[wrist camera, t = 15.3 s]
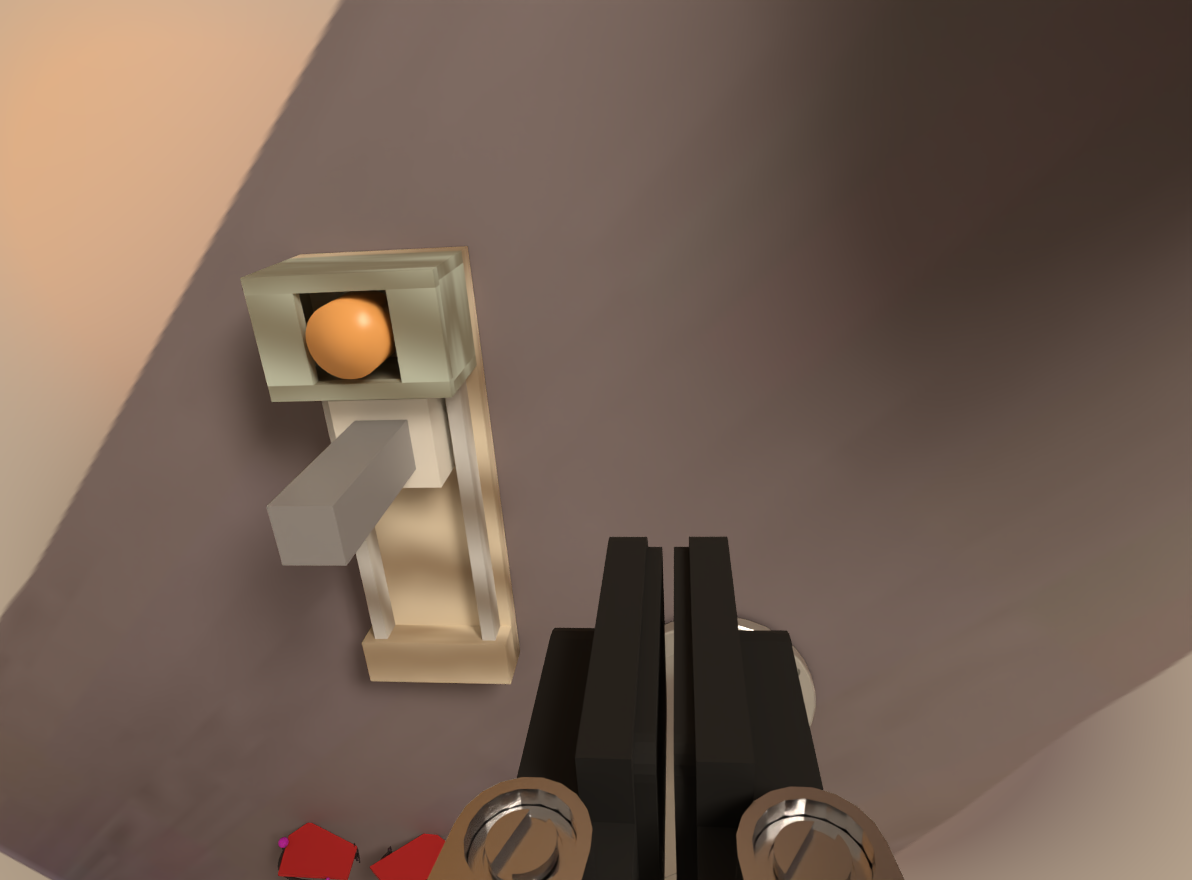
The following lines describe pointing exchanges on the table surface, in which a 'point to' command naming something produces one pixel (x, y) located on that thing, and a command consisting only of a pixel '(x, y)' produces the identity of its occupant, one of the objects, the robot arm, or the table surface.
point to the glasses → (352, 856)
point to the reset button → (351, 334)
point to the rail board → (417, 515)
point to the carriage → (360, 477)
